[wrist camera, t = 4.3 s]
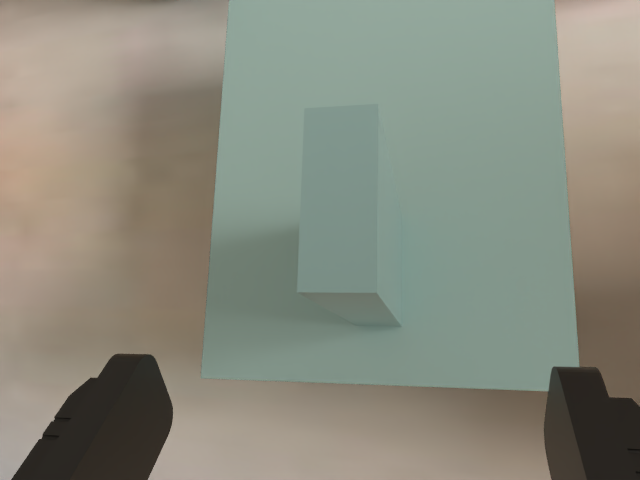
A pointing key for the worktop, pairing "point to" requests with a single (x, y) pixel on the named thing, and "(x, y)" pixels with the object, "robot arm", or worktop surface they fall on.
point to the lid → (391, 196)
